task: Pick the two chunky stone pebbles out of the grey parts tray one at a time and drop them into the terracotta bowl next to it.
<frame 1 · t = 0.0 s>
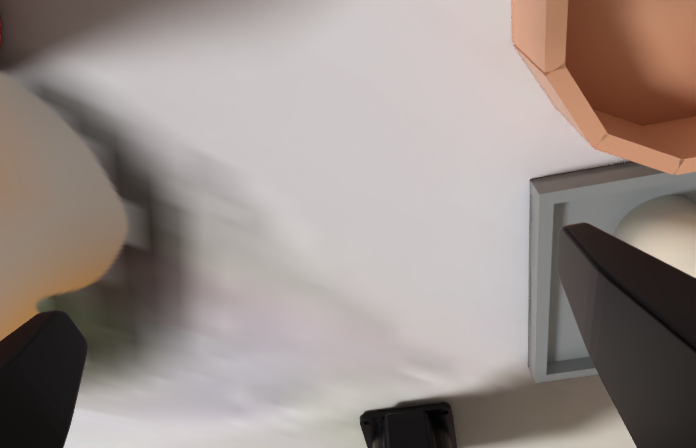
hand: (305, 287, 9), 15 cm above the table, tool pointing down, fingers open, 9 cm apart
parts tray: (644, 267, 28), on the table
pebble sand: (656, 230, 26), resting on parts tray
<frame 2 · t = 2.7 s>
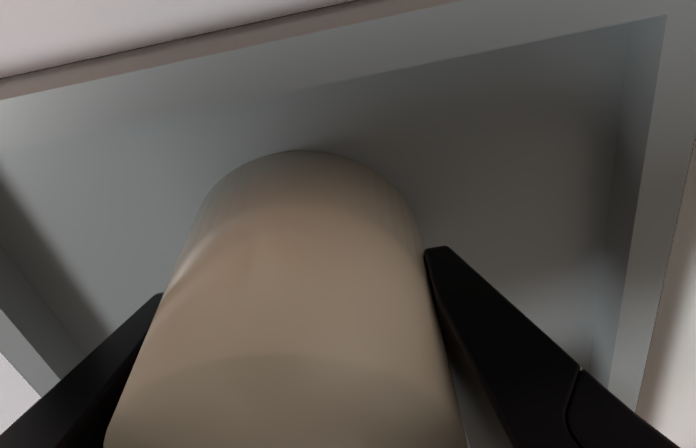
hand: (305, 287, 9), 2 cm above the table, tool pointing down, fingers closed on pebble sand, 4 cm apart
parts tray: (340, 335, 12), on the table
pebble sand: (307, 252, 10), point 1 cm above the table, touching gripper, parts tray
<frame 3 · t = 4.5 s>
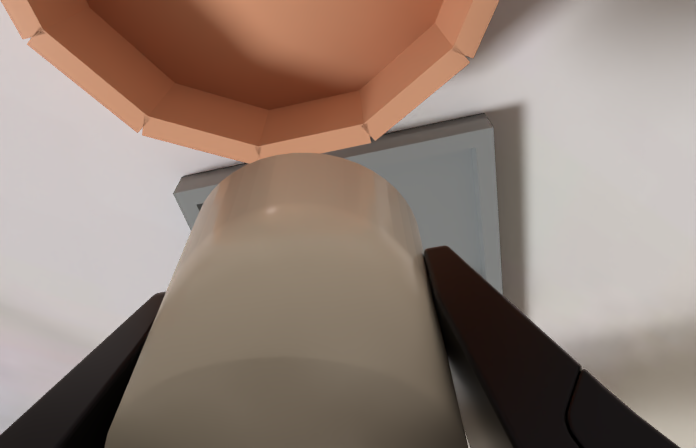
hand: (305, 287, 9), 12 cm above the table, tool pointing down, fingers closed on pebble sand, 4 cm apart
parts tray: (362, 276, 24), on the table
pebble sand: (308, 253, 10), point 11 cm above the table, touching gripper
when the fingers open (4 cm above the table, at t = 6.7 s): pebble sand drops 3 cm, resting on bowl.
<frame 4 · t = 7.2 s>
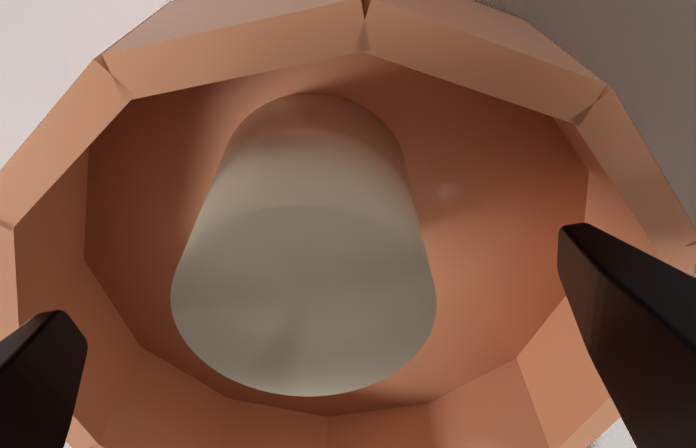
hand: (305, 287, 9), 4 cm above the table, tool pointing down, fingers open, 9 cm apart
bowl: (337, 251, 14), on the table
pebble sand: (314, 181, 12), point 1 cm above the table, touching bowl
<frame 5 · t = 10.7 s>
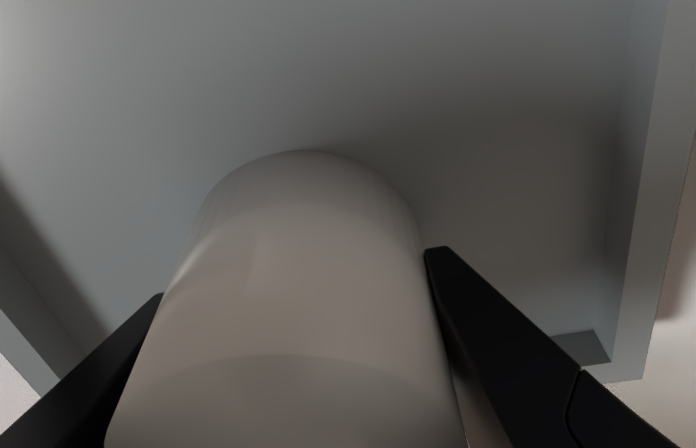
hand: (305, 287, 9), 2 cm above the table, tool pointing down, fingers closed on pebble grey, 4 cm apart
parts tray: (266, 98, 8), on the table
pebble grey: (307, 252, 10), resting on parts tray, touching gripper
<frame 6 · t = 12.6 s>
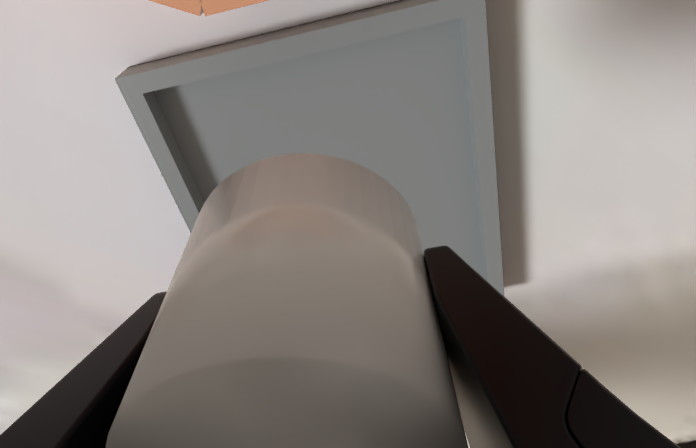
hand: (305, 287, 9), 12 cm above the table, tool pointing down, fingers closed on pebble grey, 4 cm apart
parts tray: (340, 194, 22), on the table
pebble grey: (308, 254, 10), point 11 cm above the table, touching gripper
when the fingers open (4 cm above the table, at t = 14.8 s): pebble grey drops 3 cm, resting on bowl.
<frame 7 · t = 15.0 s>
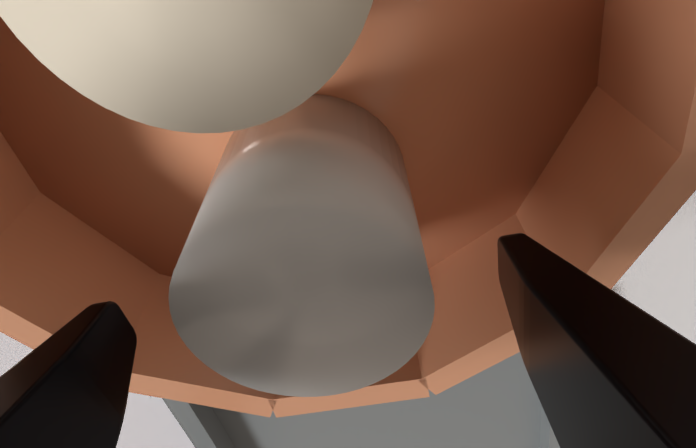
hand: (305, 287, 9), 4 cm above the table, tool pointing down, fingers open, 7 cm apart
bowl: (285, 55, 11), on the table
pebble grey: (314, 182, 12), point 1 cm above the table, touching bowl
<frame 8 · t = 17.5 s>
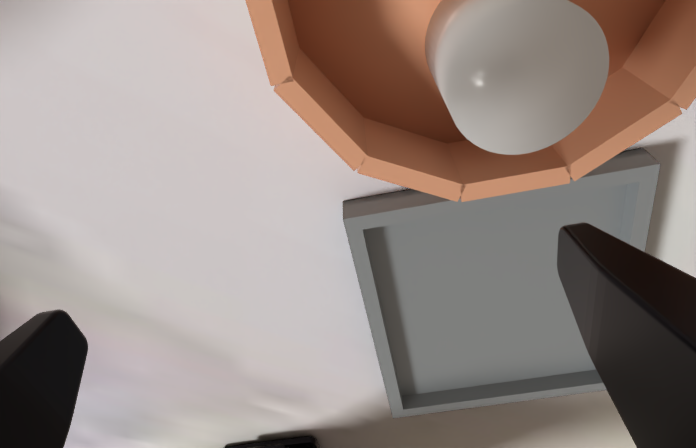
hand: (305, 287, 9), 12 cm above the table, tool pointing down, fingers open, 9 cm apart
parts tray: (493, 295, 25), on the table
pebble grey: (487, 40, 17), point 1 cm above the table, touching bowl
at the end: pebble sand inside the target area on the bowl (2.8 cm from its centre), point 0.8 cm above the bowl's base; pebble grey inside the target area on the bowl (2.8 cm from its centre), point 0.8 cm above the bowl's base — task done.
